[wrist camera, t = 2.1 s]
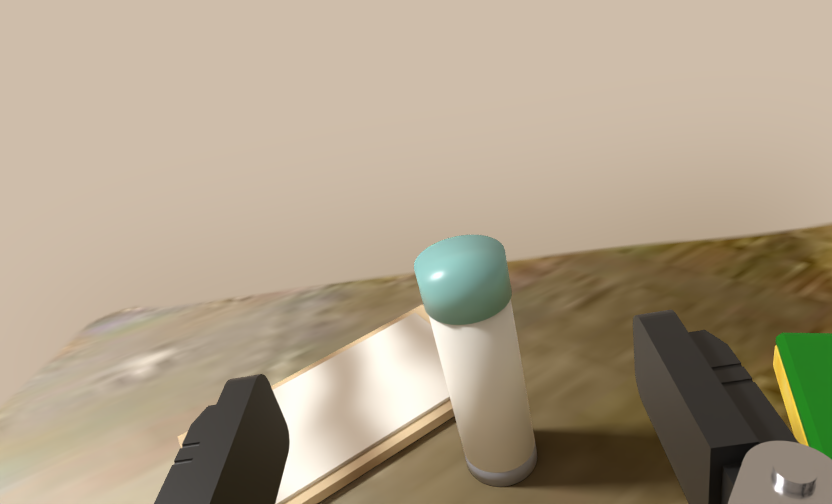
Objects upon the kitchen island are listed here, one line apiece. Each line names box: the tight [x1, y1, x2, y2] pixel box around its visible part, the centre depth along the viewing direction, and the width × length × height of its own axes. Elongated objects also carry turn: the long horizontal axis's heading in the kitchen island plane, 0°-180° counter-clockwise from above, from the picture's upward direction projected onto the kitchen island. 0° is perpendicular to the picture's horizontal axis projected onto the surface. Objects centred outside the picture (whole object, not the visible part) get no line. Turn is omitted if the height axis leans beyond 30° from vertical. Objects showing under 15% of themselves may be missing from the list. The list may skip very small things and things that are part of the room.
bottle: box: [414, 235, 537, 487], centre depth 27 cm, size 4×4×12 cm
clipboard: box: [178, 305, 455, 504], centre depth 35 cm, size 18×10×1 cm, turn 121°
